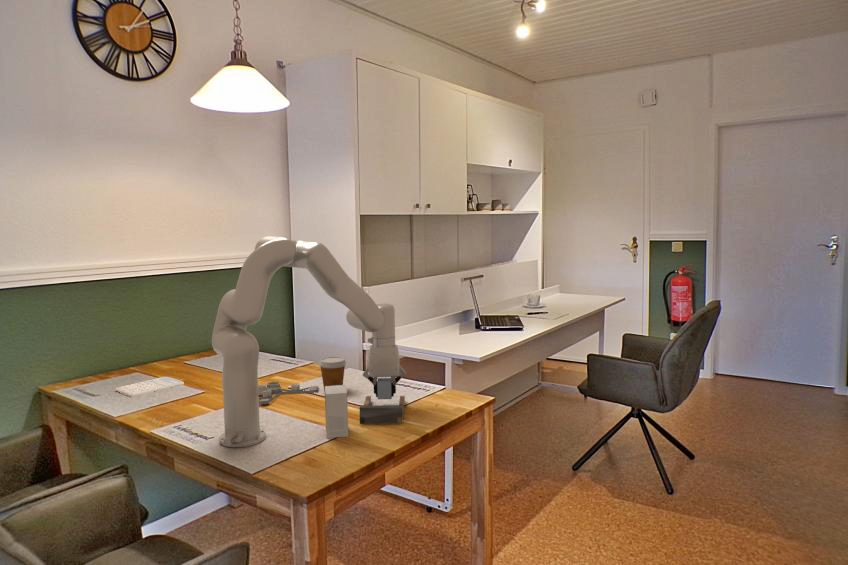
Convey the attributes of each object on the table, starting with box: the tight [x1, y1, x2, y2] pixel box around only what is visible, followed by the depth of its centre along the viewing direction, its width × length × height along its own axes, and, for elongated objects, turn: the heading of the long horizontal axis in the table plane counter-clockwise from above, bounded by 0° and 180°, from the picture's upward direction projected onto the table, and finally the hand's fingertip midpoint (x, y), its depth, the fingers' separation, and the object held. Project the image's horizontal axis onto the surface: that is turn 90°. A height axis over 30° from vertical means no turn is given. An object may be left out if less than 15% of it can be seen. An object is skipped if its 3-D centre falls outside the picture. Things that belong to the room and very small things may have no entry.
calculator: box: [115, 376, 185, 397], centre depth 216 cm, size 13×20×2 cm, turn 142°
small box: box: [324, 384, 349, 439], centre depth 170 cm, size 8×6×13 cm
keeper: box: [377, 377, 393, 400], centre depth 193 cm, size 4×4×6 cm
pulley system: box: [258, 381, 320, 405], centre depth 207 cm, size 27×5×15 cm
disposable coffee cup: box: [318, 356, 347, 393], centre depth 209 cm, size 10×10×12 cm
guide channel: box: [359, 395, 406, 425], centre depth 188 cm, size 21×13×5 cm, turn 0°
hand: (384, 395), depth 193 cm, fingers closed on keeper, 4 cm apart
